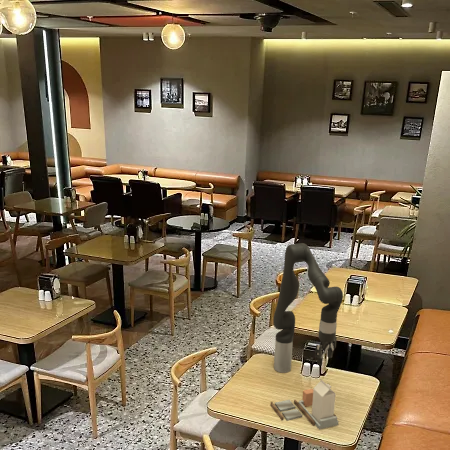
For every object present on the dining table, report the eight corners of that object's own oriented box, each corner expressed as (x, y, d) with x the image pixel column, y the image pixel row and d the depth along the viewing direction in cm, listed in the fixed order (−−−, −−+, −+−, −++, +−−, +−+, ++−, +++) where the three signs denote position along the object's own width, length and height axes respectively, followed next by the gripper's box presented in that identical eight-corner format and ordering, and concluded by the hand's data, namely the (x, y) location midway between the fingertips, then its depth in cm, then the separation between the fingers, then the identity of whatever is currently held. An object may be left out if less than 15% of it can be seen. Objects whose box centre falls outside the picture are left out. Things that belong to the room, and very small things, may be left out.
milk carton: (320, 426, 215) (323, 388, 211) (311, 417, 222) (314, 380, 217) (333, 422, 218) (336, 385, 214) (324, 413, 225) (327, 377, 220)
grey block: (297, 404, 231) (298, 391, 229) (315, 400, 234) (316, 387, 233) (319, 429, 213) (320, 415, 212) (338, 424, 217) (339, 411, 215)
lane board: (270, 405, 230) (270, 402, 229) (314, 395, 238) (314, 392, 238) (290, 431, 212) (290, 427, 211) (336, 420, 220) (337, 416, 219)
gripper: (328, 321, 223) (325, 352, 228) (311, 331, 213) (309, 363, 218) (343, 326, 219) (339, 358, 223) (326, 337, 208) (323, 370, 213)
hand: (324, 360), depth 220 cm, fingers open, 8 cm apart
